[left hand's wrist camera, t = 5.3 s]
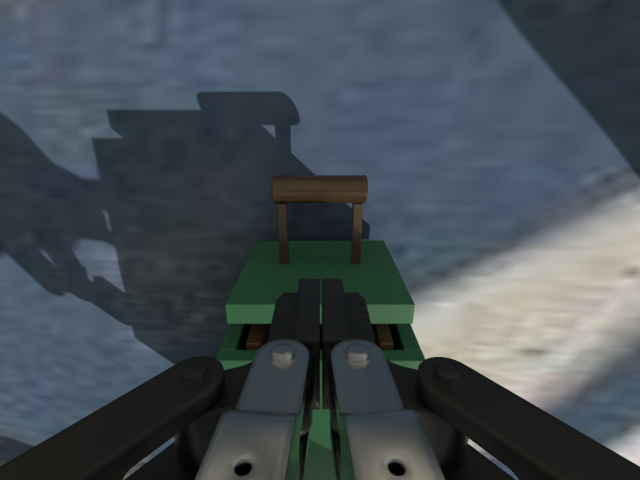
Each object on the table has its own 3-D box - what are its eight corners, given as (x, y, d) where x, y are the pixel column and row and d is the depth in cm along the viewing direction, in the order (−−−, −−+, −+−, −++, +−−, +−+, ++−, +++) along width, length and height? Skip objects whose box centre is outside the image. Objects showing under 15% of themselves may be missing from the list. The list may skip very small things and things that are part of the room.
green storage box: (253, 267, 29) (213, 360, 18) (387, 267, 29) (426, 360, 18) (265, 426, 35) (240, 567, 24) (376, 426, 35) (400, 568, 24)
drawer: (251, 165, 25) (212, 195, 16) (388, 165, 25) (426, 195, 16) (267, 402, 33) (247, 513, 24) (373, 402, 33) (393, 513, 24)
